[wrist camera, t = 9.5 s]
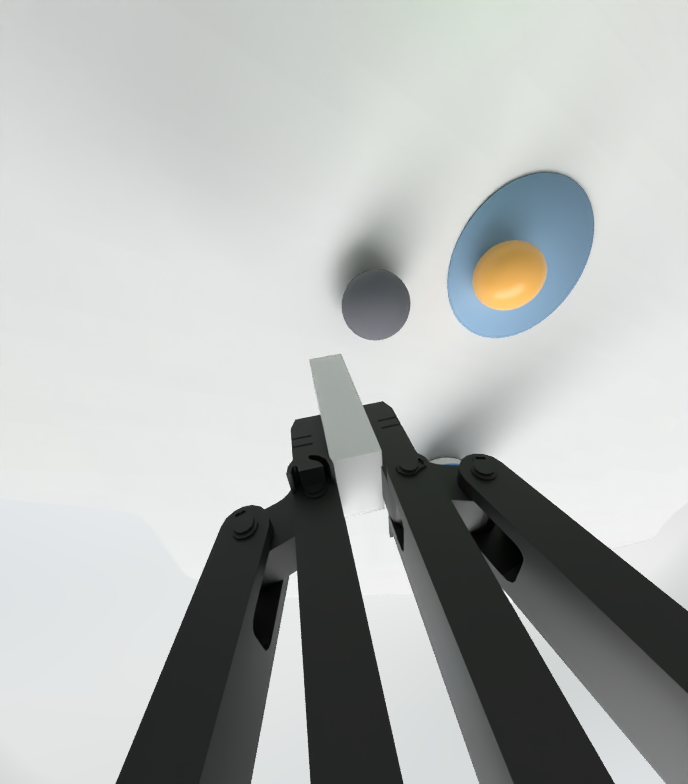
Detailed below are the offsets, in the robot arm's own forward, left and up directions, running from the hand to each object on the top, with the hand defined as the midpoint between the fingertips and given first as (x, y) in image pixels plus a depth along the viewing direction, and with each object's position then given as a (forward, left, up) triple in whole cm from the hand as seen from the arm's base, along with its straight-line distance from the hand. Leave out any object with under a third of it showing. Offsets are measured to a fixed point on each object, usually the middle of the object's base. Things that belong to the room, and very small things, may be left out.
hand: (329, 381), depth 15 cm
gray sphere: (+3, +4, -11) cm, 12 cm away
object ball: (+8, +15, -11) cm, 20 cm away
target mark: (+10, +17, -14) cm, 24 cm away
